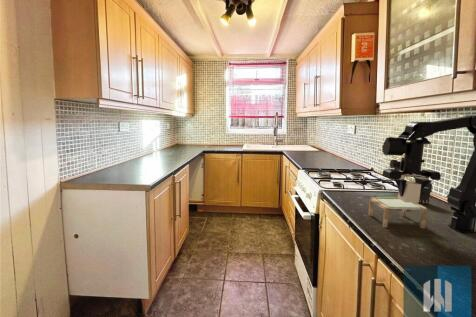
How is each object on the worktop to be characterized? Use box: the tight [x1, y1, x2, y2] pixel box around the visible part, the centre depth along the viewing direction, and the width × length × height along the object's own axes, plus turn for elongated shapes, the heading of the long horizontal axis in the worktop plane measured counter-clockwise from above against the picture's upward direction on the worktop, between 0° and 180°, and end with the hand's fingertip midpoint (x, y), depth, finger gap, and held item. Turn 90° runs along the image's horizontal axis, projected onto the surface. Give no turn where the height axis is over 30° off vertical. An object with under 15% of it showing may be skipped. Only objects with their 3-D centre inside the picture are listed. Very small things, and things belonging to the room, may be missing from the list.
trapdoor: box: [377, 199, 422, 211], centre depth 109 cm, size 10×12×1 cm
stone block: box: [397, 180, 421, 203], centre depth 103 cm, size 5×5×7 cm
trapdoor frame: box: [367, 196, 428, 229], centre depth 110 cm, size 13×15×8 cm
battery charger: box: [418, 181, 433, 205], centre depth 133 cm, size 7×4×11 cm, turn 73°
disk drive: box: [373, 194, 398, 198], centre depth 133 cm, size 10×3×15 cm
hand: (408, 196), depth 104 cm, fingers closed on stone block, 5 cm apart
